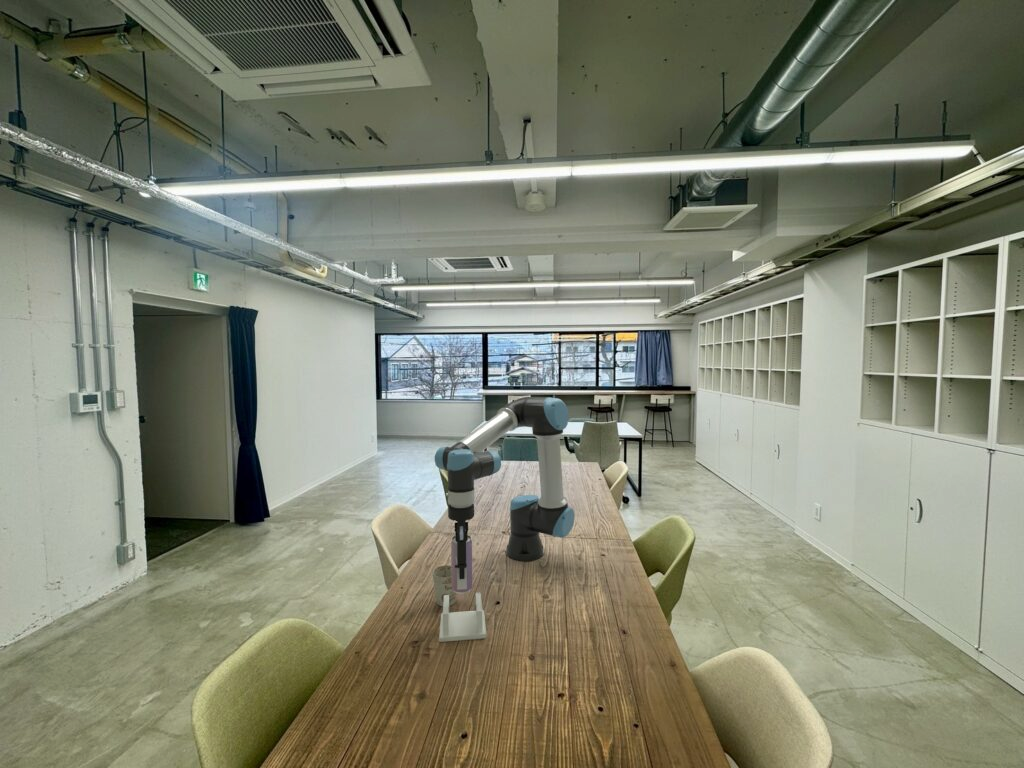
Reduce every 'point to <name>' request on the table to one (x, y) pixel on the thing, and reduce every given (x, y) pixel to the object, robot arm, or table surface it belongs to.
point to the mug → (443, 584)
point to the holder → (462, 622)
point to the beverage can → (454, 562)
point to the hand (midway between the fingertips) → (462, 582)
